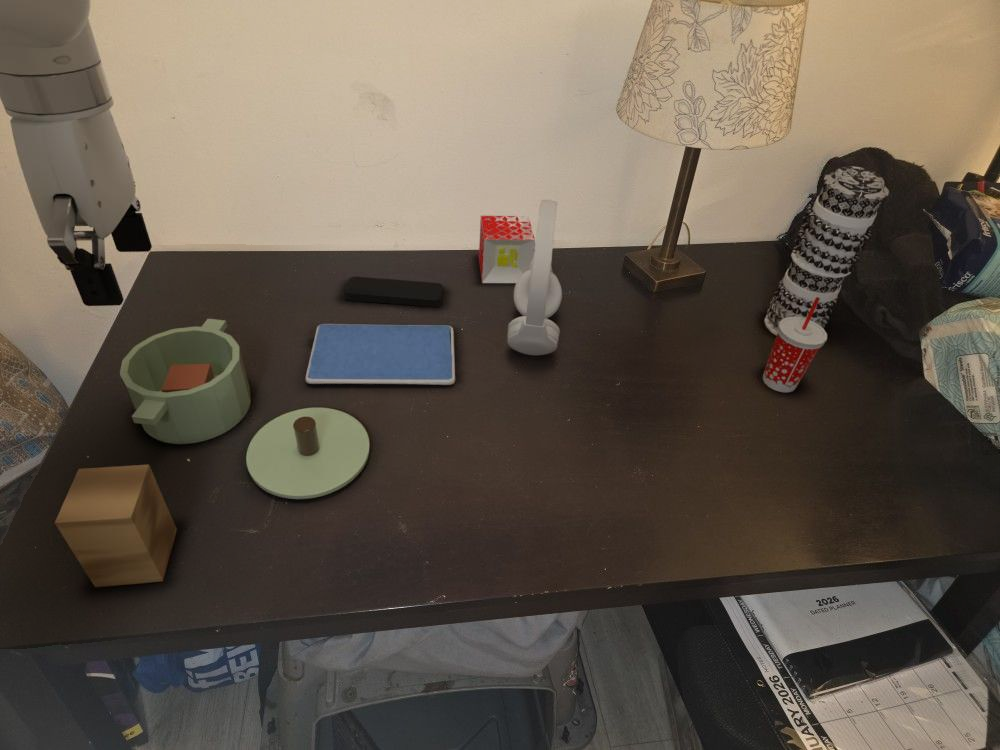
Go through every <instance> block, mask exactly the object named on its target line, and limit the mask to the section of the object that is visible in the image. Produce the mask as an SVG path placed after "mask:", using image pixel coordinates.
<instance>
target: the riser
mask: <svg viewBox="0 0 1000 750" xmlns="http://www.w3.org/2000/svg"><path fill="white" fill-rule="evenodd" d="M54 524H55V526H56V528H57V529H58V531H59V533H60V534H61V536H62V537H63V539H64V541H66V544H67V545H68V547H69V548H70V550H71V551H72V553H73V555H74V557H75V558H76V559H77V561H78V562H79V564H80V566H81V567H82V569H83V570H84V572H85V574H86V576H87V577H88V578H89V580H90V582H91V583H92V585H93V586H94V588H102V587H103V588H104V587H115V586H127V585H128V586H129V585H137V584H138V585H139V584H148V583H149V584H150V583H161V582H163V581H164V578H165V576H166V575H165V574H166V571H167V567H168V563H169V560H170V557H171V553H172V549H173V546H174V542H175V538H176V535H177V531H178V529H177V526H176V524H175V521H174V519H173V516H172V514H171V511H170V510H169V508H168V505H167V503H166V501H165V499H164V495H163V494H162V491H161V489H160V487H159V485H158V482H157V480H156V477H155V475H154V472H153V470H152V468H151V465H150V464H137V465H121V466H120V465H119V466H105V467H103V466H102V467H89V468H88V467H86V468H78V469H77V471H76V474H75V476H74V478H73V481H72V483H71V485H70V487H69V489H68V492H67V494H66V497H65V499H64V501H63V503H62V506H61V508H60V510H59V512H58V514H57V516H56V519H55V521H54Z"/></svg>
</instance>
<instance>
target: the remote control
mask: <svg viewBox="0 0 1000 750" xmlns="http://www.w3.org/2000/svg"><path fill="white" fill-rule="evenodd" d="M444 294H445V292H444V287H443V284H441V283H439V282H429V281H417V280H406V279H405V280H403V279H395V278H394V279H393V278H381V277H370V276H369V277H368V276H357V275H355V276H351V277H350V278H348V281H347V283H346V285H345V288H344V294H343V298H344V299H345V300H347V301H352V302H353V301H354V302H355V301H356V302H367V303H377V304H378V303H380V304H381V303H382V304H392V305H404V306H417V307H429V308H439V307H441V306H442V304H443V300H444Z"/></svg>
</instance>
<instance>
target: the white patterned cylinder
mask: <svg viewBox="0 0 1000 750" xmlns="http://www.w3.org/2000/svg"><path fill="white" fill-rule="evenodd" d="M823 180H824V183H823V186H822V188H821V190H820V193H819V195H817V196H816V199H814V200H813V201H810V202H808V206H807V207H806V209H805V212H804V216H803V217H802V219H801V220H802V222H804V223H803V224H802V225H800V227H799V230H798V231H797V236H796V239H795V240H794V245H795V246H794V247H793V248H792V249H793V250H792V252H791V254H790V257H791V259H792V260H791V262H790V265H789V267H788V268H787V270H786V272H785V274H784V276H783V278H781V279H780V281H779V282H778V284H777V288H776V291H774V296H773V298H772V299H771V301H770V303H769V306H768V308H767V311H766V316H765V317H764V320H763V321H764V326H765V327H766V329H768V331H769V332H770V333H771V334H772V335H774V336H777V334H778V332H777V329H778V326H779V322H780V321H781V320H782V319H784V318H787V317H801V318H805V319H806V318H807V316H808V314H809V312H810V310H811V307H812V305H813V303H814V301H815V299H816V297H818V298H820V300H819V302H818V304H817V306H816V308H815V310H814V312H813V315H812V317H811V319H810V320H811V321H813V322H815V323H817V324H818V325H820V326H821V327H822V328H823V329H824V328H825V327H826V325H827V324H828V321H829V319H830V316H829V315H832V313H833V310H834V308H835V307H834V306H836V305H837V302H838V301H839V297H838V295H839V293H840V291H841V289H842V283H843V282H844V280H845V277H847V276H849V275H850V274H851V273H853V272H854V269H855V264H856V263H858V262H859V261H860V255H859V254H858V253H860V252H861V251H865V250H866V249H867V241H871V240H872V235H873V233H872V232H871V231H870V229H869V227H871V226H873V223H874V222H875V221H876V220H877V215H878V210H879V208H880V206H881V204H882V201H883V199H884V198H887V197H888V196H889V194H890V191H889V189H888V188H887V187H886V185H885V184H886V183H885V180H884V178H883V177H882V175H880V174H878V173H877V172H876V171H873V170H871V169H868V168H864V167H861V166H853V165H851V166H849V165H847V166H843V167H839V168H838V169H836V170H834V171H833V172H830V173H828V174H825V175H824V178H823ZM809 219H810V220H809Z"/></svg>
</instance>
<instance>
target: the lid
mask: <svg viewBox="0 0 1000 750" xmlns="http://www.w3.org/2000/svg"><path fill="white" fill-rule="evenodd" d="M370 449H371V445H370V438H369V434H368V432H367V430H366V428H365V427H364V426H363V424H362V423H361V422H360V421H359V420H358V419H356V418H355V417H354V416H353V415H351V414H349V413H346V412H344V411H342V410H337V409H335V408H330V407H329V408H328V407H305V408H300V409H296V410H292V411H288V412H286V413H283V414H281V415H279V416H277V417H275V418H273V419H271V420H270V421H268V422H267V423H266V424H265V425H263V426H262V427H261V428H260V429H259V430H258V431H257V432H256V433H255V434H254V436H253V437H252V438H251V440H250V442H249V445H248V447H247V451H246V456H245V461H246V467H247V471H248V474H249V476H250V478H251V480H253V482H254V483H255V484H256V485H257V486H258V487H259V488H260V489H262V491H264V492H266V493H269V494H271V495H273V496H277V497H279V498H283V499H290V500H307V499H309V500H310V499H315V498H319V497H323V496H326V495H329V494H332V493H334V492H337V491H338V490H340V489H342V488H344V487H346V486H347V485H348V484H350V483H351V482H352V481H353V480H355V479H356V478H357V477H358V476H359V475H360V474H361V472H362V471H363V469H364V468H365V466H366V464H367V462H368V459H369V456H370V451H371V450H370Z"/></svg>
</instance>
